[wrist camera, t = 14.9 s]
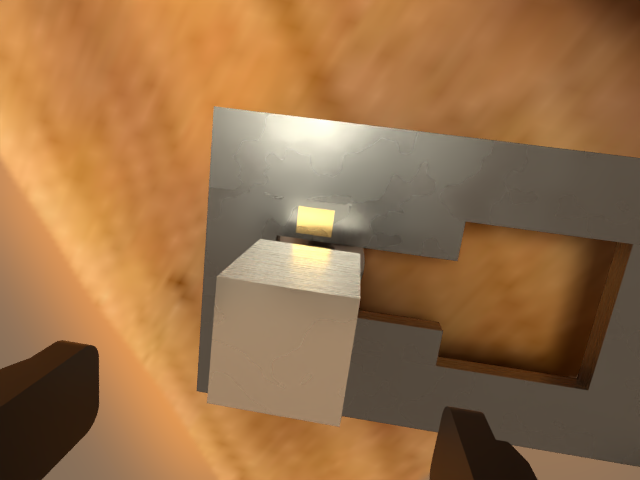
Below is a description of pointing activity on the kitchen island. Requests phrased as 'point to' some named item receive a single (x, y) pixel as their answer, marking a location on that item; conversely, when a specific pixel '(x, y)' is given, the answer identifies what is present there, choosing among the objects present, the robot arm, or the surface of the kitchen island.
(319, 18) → the kitchen island surface
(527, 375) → the keyhole plate
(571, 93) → the kitchen island surface
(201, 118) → the kitchen island surface
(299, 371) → the keyhole peg
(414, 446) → the kitchen island surface
